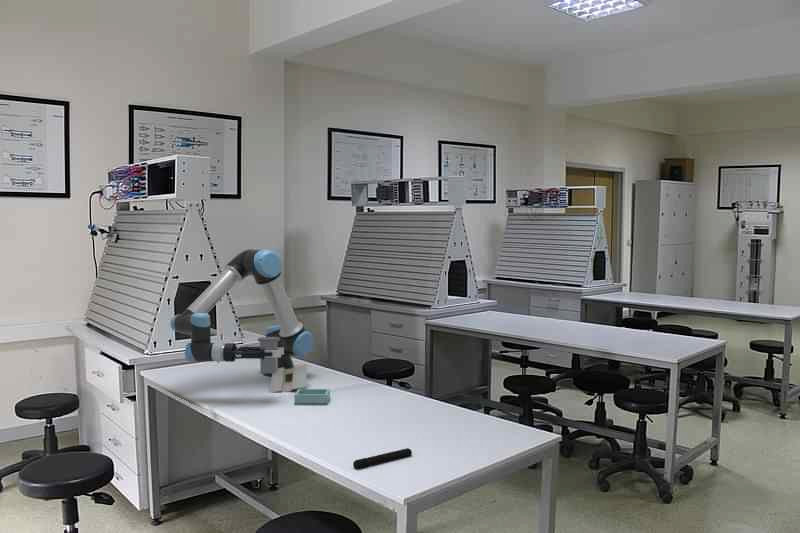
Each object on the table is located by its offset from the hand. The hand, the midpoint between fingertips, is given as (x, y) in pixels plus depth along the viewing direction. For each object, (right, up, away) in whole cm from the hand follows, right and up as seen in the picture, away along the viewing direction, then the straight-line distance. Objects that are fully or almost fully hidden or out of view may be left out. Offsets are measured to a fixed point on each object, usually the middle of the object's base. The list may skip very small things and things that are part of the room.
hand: (282, 352), depth 246 cm
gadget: (+43, -25, -62) cm, 79 cm away
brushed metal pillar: (-5, -8, +1) cm, 10 cm away
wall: (-1, -19, +20) cm, 28 cm away
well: (+12, -20, 0) cm, 23 cm away
